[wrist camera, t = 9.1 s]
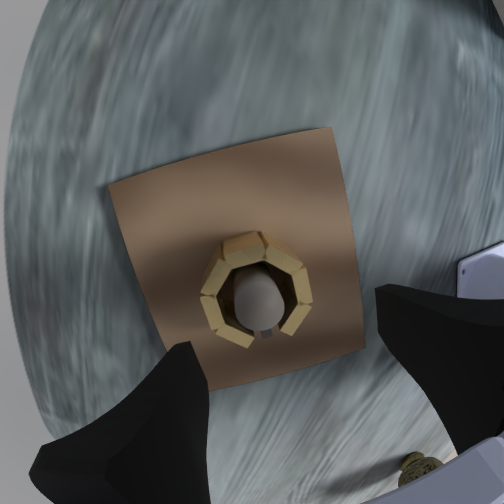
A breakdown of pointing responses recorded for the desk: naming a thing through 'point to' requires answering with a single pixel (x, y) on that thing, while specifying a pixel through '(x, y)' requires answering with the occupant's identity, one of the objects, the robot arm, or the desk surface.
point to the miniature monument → (499, 8)
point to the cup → (416, 467)
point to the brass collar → (244, 253)
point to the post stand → (252, 275)
